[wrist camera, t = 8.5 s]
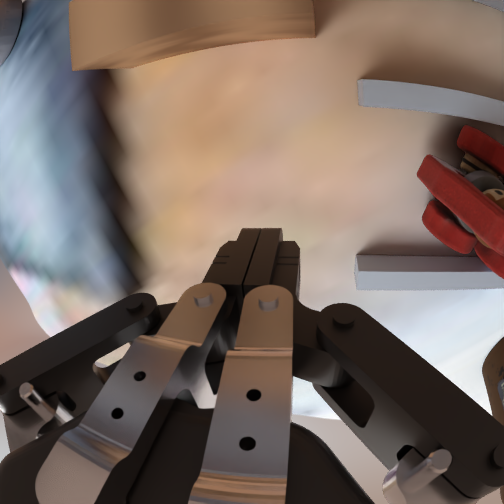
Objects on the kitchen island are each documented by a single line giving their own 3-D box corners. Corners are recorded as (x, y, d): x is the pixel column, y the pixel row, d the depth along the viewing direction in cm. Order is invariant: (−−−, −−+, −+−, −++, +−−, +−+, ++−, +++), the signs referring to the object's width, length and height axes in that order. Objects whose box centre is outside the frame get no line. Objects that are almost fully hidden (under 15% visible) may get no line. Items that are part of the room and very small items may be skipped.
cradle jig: (354, 273, 20) (358, 310, 17) (339, -41, 10) (342, -70, 6) (526, 272, 17) (547, 301, 13) (546, 18, 6) (577, 15, 3)
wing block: (132, 68, 16) (72, 70, 11) (127, 13, 14) (68, 2, 9) (315, 38, 13) (314, 12, 8) (306, -25, 11) (299, -69, 6)
